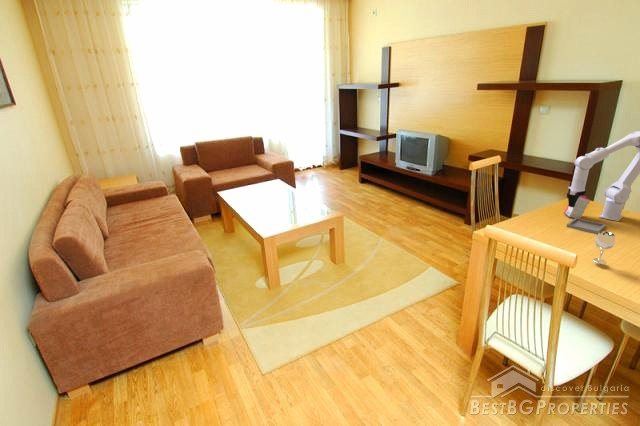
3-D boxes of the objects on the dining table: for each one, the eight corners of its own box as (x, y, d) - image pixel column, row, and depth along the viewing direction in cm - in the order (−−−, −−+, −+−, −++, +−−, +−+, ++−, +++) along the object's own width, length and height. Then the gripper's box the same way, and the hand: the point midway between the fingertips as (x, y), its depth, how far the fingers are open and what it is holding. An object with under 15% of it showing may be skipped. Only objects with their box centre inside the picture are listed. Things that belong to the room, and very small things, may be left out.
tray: (574, 220, 176) (575, 217, 175) (605, 227, 166) (605, 224, 166) (566, 227, 168) (566, 224, 168) (597, 234, 159) (598, 231, 159)
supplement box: (580, 219, 177) (590, 200, 171) (568, 217, 177) (578, 198, 172) (575, 214, 182) (585, 195, 176) (563, 212, 182) (573, 193, 177)
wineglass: (586, 258, 138) (593, 231, 134) (599, 257, 138) (607, 230, 134) (598, 265, 133) (606, 237, 128) (612, 264, 133) (620, 236, 129)
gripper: (575, 176, 180) (569, 200, 185) (565, 181, 172) (560, 206, 176) (591, 178, 175) (585, 203, 179) (582, 183, 166) (576, 209, 171)
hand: (573, 205), depth 178 cm, fingers open, 7 cm apart
